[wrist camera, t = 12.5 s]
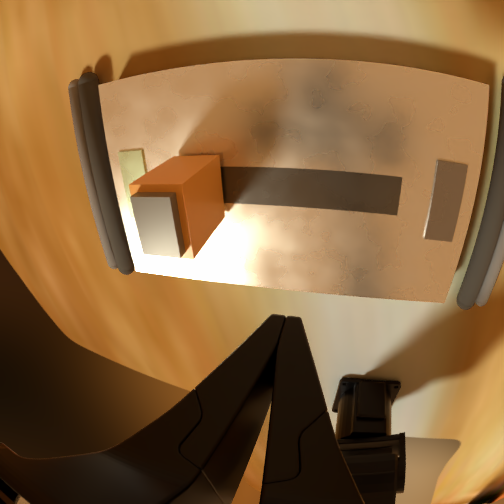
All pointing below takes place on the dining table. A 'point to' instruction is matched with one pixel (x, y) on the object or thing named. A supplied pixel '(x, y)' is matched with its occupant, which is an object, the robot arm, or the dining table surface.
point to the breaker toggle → (178, 205)
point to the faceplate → (311, 170)
